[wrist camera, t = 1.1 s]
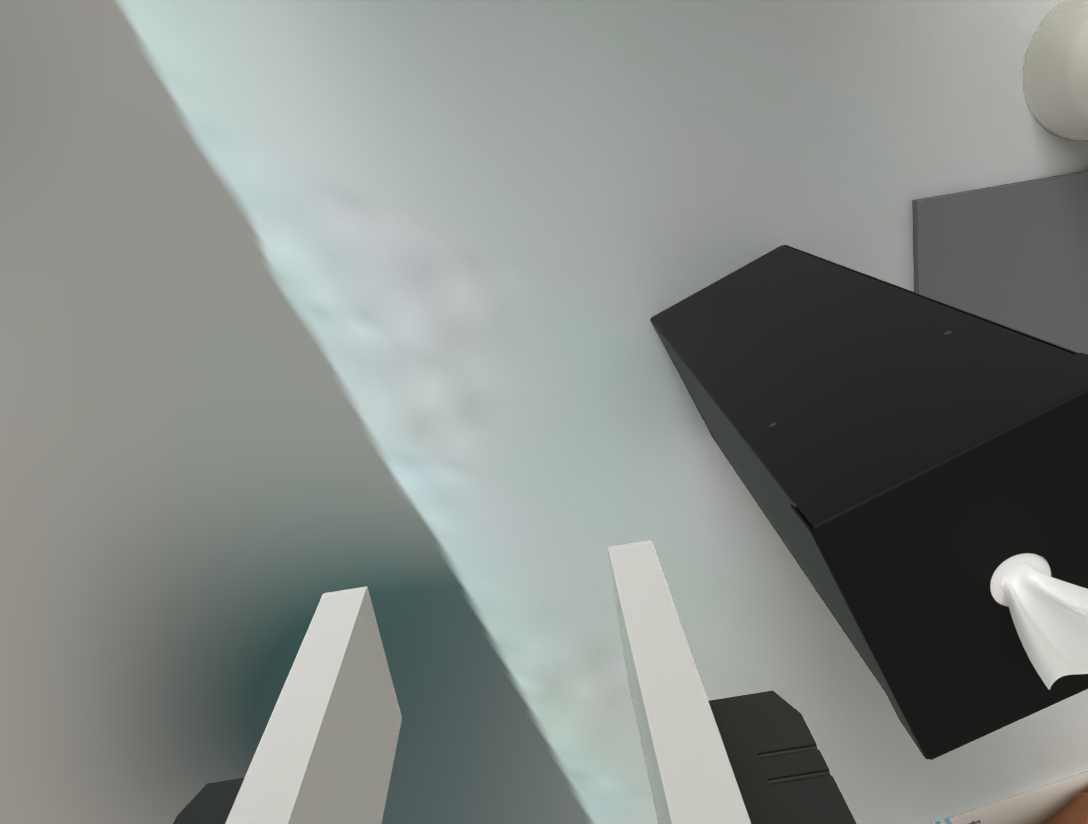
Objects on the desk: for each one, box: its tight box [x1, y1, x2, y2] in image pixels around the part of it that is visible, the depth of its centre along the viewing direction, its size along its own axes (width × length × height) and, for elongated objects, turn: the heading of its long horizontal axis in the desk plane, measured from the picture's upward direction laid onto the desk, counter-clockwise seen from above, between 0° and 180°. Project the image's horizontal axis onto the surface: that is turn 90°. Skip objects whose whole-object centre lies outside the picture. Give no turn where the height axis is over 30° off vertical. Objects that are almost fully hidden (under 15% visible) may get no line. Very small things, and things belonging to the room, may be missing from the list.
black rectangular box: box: [650, 245, 1088, 760], centre depth 30 cm, size 8×8×28 cm
